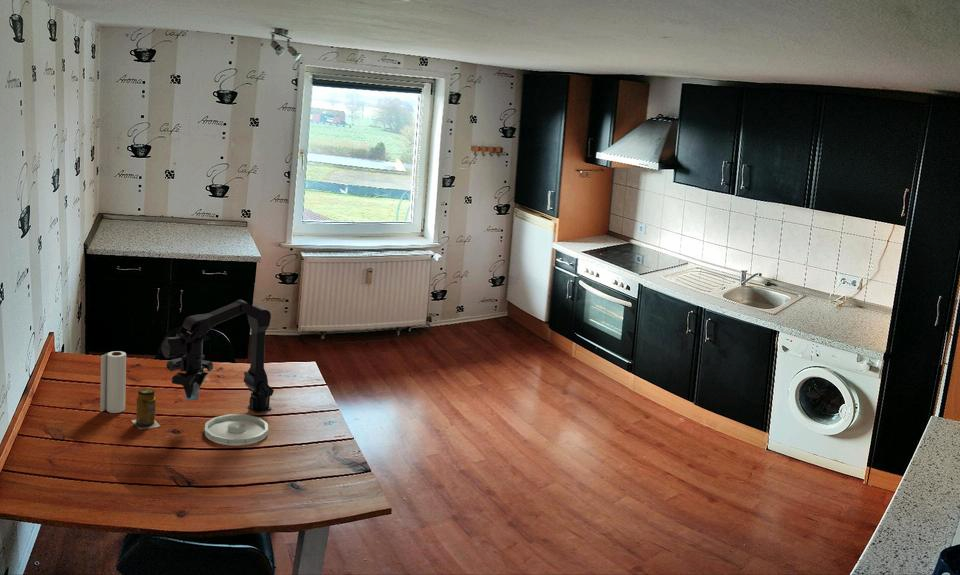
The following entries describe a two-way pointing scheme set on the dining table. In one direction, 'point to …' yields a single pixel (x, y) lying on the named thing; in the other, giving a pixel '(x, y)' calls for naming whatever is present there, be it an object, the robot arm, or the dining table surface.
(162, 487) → the dining table surface
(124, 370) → the paper towel roll
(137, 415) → the condiment
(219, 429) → the tray
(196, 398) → the blue-grey short cylinder
